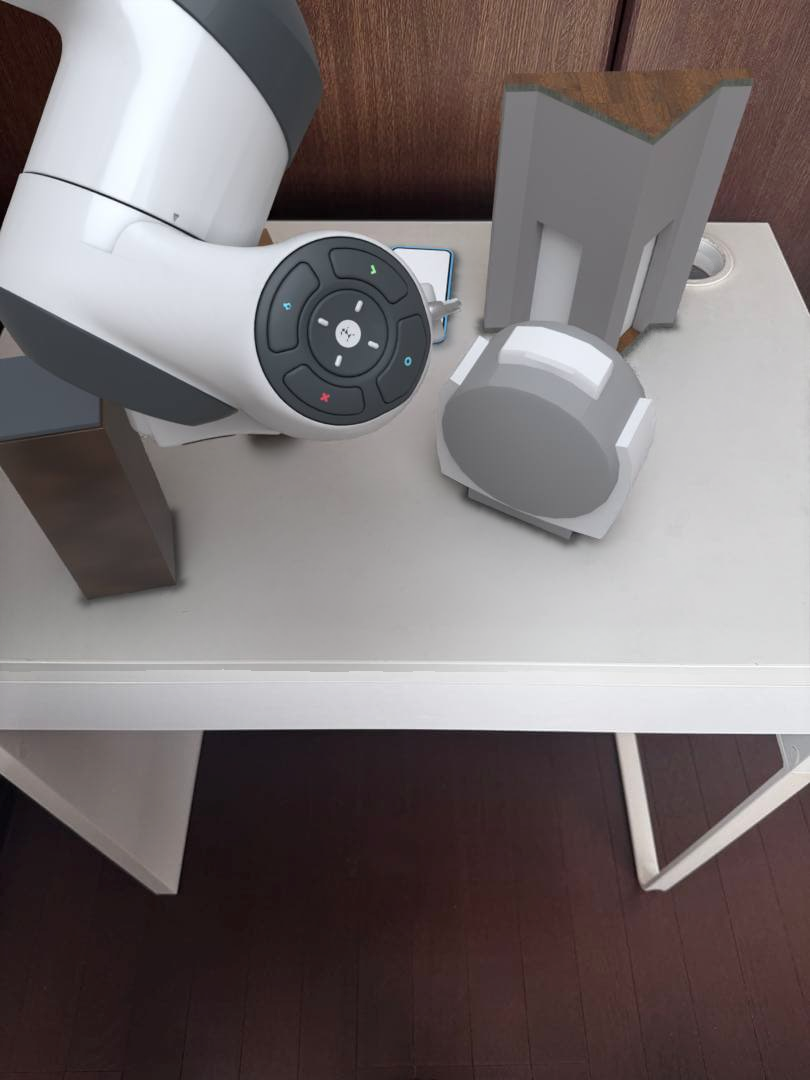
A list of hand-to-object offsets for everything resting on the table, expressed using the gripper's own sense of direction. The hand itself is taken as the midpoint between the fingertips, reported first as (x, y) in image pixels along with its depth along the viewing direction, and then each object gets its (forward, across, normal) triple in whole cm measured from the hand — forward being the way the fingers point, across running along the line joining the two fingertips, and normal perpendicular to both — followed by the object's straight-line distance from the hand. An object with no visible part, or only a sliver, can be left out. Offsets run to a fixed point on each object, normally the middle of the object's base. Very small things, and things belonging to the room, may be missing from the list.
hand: (270, 357), depth 61 cm
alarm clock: (+16, -22, +19) cm, 33 cm away
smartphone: (+38, -22, -2) cm, 43 cm away
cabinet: (+27, -36, +8) cm, 46 cm away
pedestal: (+21, +16, +14) cm, 30 cm away
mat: (+6, +16, -2) cm, 17 cm away
